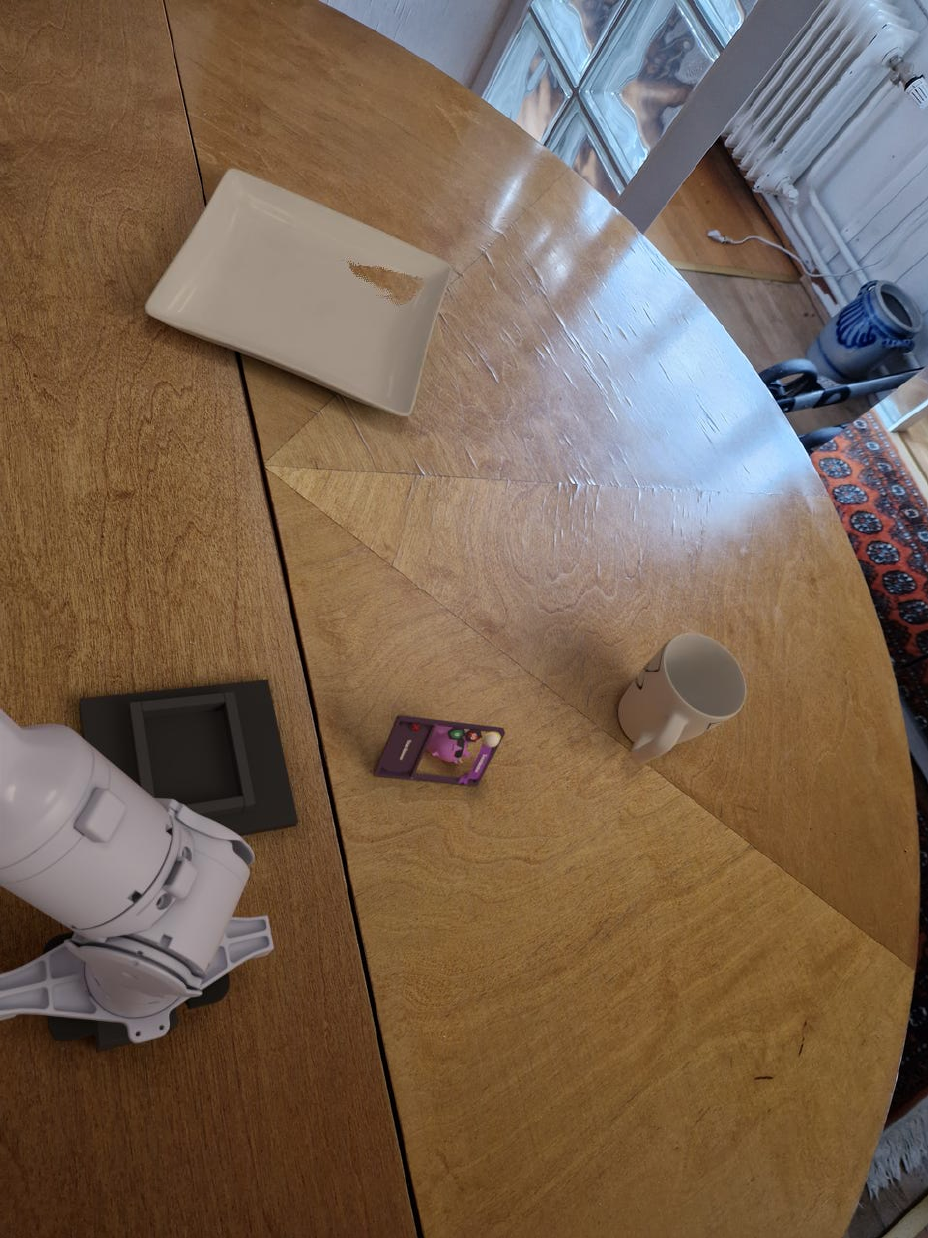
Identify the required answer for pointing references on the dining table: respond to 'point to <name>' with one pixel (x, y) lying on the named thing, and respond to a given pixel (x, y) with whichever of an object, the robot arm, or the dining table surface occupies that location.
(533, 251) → the dining table surface
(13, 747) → the robot arm
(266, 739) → the base pad
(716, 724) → the mug
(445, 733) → the game card
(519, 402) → the dining table surface
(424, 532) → the dining table surface
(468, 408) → the dining table surface
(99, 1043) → the small block
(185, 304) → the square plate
